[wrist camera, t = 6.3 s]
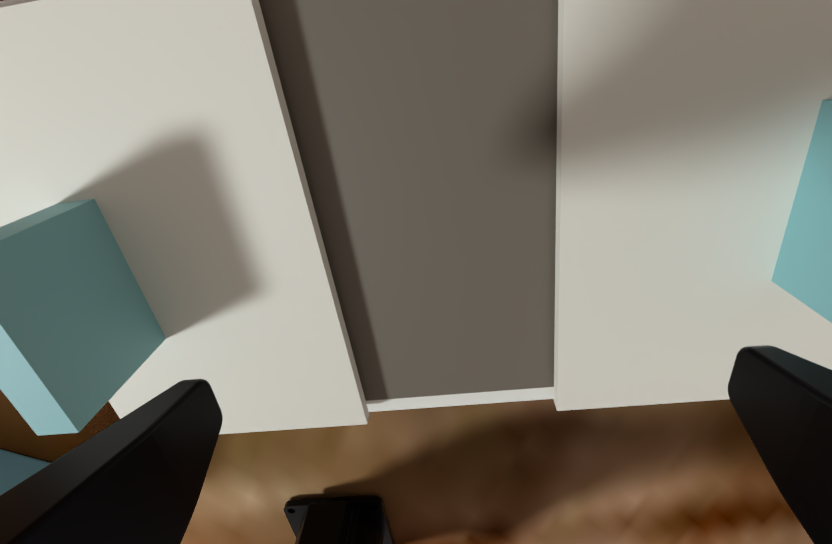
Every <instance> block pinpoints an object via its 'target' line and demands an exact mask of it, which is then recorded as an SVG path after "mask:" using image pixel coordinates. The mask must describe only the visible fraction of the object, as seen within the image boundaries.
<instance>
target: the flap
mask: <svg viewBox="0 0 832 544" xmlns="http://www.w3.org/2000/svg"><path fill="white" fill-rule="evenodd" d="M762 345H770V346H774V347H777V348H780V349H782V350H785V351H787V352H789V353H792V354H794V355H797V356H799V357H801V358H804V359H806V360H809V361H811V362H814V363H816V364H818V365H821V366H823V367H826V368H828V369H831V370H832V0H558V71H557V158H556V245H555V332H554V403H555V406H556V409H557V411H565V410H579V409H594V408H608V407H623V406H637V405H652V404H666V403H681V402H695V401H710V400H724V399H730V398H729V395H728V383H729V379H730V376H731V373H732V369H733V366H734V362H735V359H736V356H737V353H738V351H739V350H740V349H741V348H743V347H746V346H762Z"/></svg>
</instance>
